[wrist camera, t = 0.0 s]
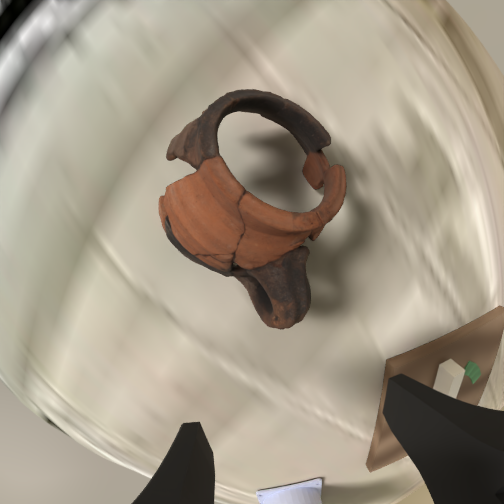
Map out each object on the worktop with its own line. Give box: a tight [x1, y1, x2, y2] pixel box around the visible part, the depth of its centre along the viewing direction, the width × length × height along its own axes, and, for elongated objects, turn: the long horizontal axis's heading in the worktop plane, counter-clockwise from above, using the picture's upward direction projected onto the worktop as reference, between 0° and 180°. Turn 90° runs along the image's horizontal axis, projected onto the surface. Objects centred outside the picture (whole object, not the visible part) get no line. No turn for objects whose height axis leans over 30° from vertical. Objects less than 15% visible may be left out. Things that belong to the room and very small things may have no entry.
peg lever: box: [433, 359, 465, 399], centre depth 19 cm, size 13×4×3 cm, turn 9°
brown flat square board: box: [366, 306, 504, 472], centre depth 22 cm, size 18×18×2 cm
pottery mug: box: [159, 89, 346, 329], centre depth 15 cm, size 12×10×8 cm
